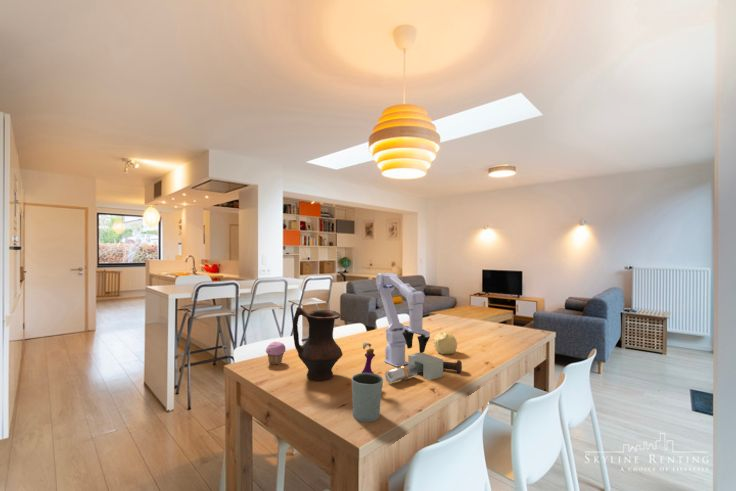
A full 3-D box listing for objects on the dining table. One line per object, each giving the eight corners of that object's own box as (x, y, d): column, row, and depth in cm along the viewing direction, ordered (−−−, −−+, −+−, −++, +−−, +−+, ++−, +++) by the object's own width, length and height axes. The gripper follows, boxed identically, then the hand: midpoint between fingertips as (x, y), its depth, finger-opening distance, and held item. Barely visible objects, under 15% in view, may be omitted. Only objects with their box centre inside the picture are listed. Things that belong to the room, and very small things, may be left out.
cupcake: (273, 359, 163) (273, 338, 163) (289, 361, 160) (289, 340, 160) (262, 365, 154) (262, 343, 154) (278, 367, 151) (278, 345, 152)
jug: (335, 366, 153) (336, 301, 154) (347, 381, 136) (348, 307, 137) (288, 372, 146) (289, 303, 146) (295, 388, 129) (296, 310, 129)
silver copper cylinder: (384, 381, 136) (384, 367, 136) (409, 374, 144) (409, 361, 144) (393, 386, 131) (393, 371, 131) (418, 378, 139) (418, 365, 140)
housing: (408, 371, 149) (408, 355, 149) (420, 367, 154) (421, 352, 154) (430, 380, 138) (430, 363, 138) (443, 376, 143) (443, 359, 143)
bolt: (428, 371, 155) (461, 375, 148) (425, 368, 151) (459, 372, 144) (429, 358, 157) (462, 361, 151) (426, 355, 153) (460, 359, 147)
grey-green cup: (347, 410, 111) (347, 374, 111) (375, 406, 115) (375, 370, 115) (357, 425, 102) (357, 386, 102) (387, 420, 105) (388, 381, 105)
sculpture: (432, 349, 182) (432, 329, 183) (454, 349, 182) (454, 330, 182) (435, 355, 171) (435, 334, 171) (459, 356, 171) (459, 335, 171)
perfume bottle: (365, 384, 133) (366, 339, 134) (380, 389, 129) (381, 342, 129) (353, 390, 128) (353, 342, 128) (368, 395, 123) (368, 346, 123)
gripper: (398, 317, 150) (397, 347, 150) (421, 323, 139) (421, 356, 138) (409, 315, 155) (409, 345, 154) (433, 321, 143) (432, 353, 143)
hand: (415, 350), depth 147 cm, fingers open, 7 cm apart
